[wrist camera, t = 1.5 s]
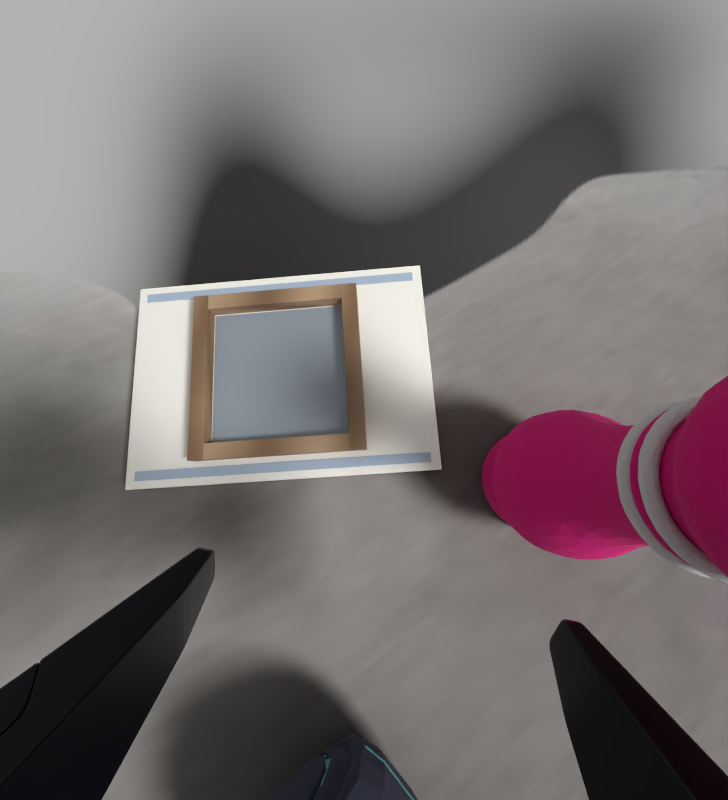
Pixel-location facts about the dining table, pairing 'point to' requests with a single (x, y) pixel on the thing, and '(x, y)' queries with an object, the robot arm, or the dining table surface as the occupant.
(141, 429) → the picture frame
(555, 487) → the pepper mill
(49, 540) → the dining table surface
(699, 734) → the dining table surface
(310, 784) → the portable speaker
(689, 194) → the dining table surface
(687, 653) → the dining table surface
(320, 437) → the walnut socket
